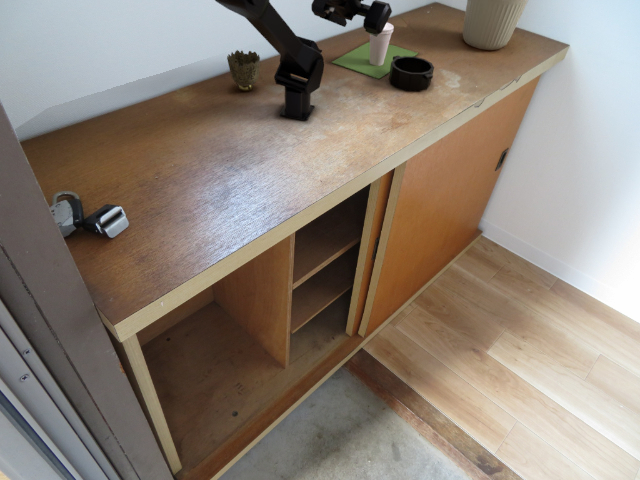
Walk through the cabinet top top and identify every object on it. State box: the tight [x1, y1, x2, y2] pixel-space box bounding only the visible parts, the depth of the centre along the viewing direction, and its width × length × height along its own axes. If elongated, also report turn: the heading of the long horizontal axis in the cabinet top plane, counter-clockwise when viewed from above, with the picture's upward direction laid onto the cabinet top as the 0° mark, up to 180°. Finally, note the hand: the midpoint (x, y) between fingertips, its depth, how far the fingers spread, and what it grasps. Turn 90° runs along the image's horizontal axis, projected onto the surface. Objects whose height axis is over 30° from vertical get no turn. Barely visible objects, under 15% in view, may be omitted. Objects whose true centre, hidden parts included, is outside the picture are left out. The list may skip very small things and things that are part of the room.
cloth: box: [331, 41, 419, 80], centre depth 123 cm, size 22×15×1 cm
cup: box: [226, 49, 261, 93], centre depth 103 cm, size 8×7×8 cm
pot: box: [388, 55, 435, 92], centre depth 111 cm, size 10×13×4 cm
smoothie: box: [369, 22, 395, 66], centre depth 115 cm, size 6×6×14 cm
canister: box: [462, 0, 529, 51], centre depth 127 cm, size 18×18×21 cm
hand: (361, 29), depth 107 cm, fingers open, 9 cm apart
